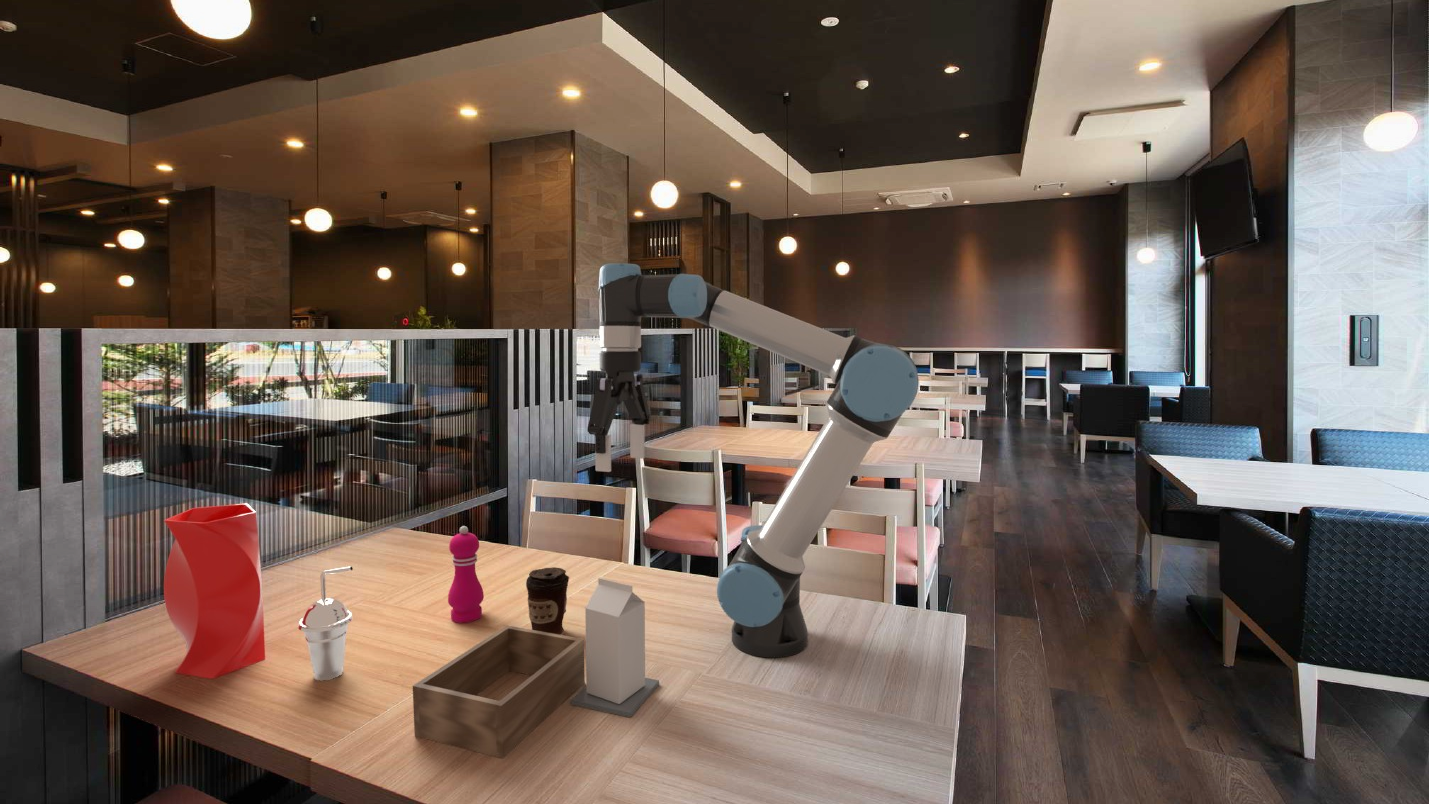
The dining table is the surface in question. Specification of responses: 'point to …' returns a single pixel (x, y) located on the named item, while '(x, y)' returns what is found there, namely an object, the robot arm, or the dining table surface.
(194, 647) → the vase
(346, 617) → the cup with straw
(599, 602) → the milk carton
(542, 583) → the coffee cup
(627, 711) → the coaster
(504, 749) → the crate
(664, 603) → the dining table surface
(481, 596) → the pepper mill
